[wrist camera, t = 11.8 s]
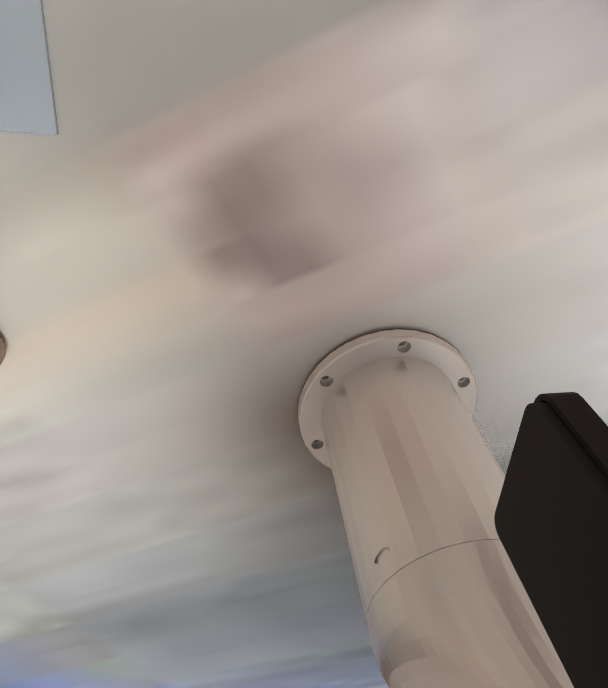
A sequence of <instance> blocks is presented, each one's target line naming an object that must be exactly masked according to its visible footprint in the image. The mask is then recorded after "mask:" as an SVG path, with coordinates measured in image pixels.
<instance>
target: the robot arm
mask: <svg viewBox="0 0 608 688" xmlns="http://www.w3.org/2000/svg"><path fill="white" fill-rule="evenodd" d="M476 402H477V386H476V383H475V379H474V376H473V373H472V371H471V369H470V368H469V366H468V364H467V363H466V361H465V360H464V358H463V357H462V356H461V354H460V353H459V352H458V351H457V350H456V349H455V348H454V347H452V346H451V345H450V344H449V343H447V342H446V341H444V340H442V339H440V338H438V337H436V336H434V335H432V334H428V333H424V332H420V331H416V330H401V329H396V330H387V331H379V332H375V333H372V334H368V335H364V336H361V337H359V338H357V339H354V340H352V341H350V342H348V343H345V344H344V345H342V346H341V347H339V348H338V349H336V350H335V351H333V352H332V353H330V354H329V355H328V356H327V357H326V358H325V359H324V360H323V361H322V362H321V363H319V364H318V365H317V367H316V368H315V369H314V371H313V372H312V373H311V375H310V376H309V377H308V379H307V381H306V383H305V385H304V387H303V389H302V392H301V395H300V400H299V404H298V421H299V426H300V432H301V435H302V438H303V440H304V443H305V445H306V447H307V448H308V450H309V451H310V452H311V454H312V455H313V456H314V457H315V458H316V459H317V460H318V461H320V462H321V463H322V464H323V465H325V466H327V467H328V468H330V469H332V473H333V477H334V482H335V486H336V491H337V495H338V500H339V504H340V509H341V513H342V517H343V522H344V526H345V531H346V535H347V540H348V544H349V549H350V553H351V557H352V562H353V566H354V571H355V575H356V580H357V584H358V589H359V593H360V597H361V602H362V606H363V611H364V615H365V620H366V624H367V628H368V633H369V637H370V641H371V646H372V650H373V653H374V656H375V659H376V662H377V665H378V668H379V670H380V672H381V674H382V676H383V678H384V680H385V682H386V683H387V685H388V686H389V688H608V426H607V425H606V424H605V423H604V422H603V420H602V419H601V418H600V417H599V416H598V415H597V414H596V412H595V411H594V410H593V409H592V408H591V407H590V406H589V404H588V403H587V402H586V401H585V400H584V399H583V398H582V397H581V396H580V395H579V394H578V393H574V392H566V393H548V394H540V395H538V396H537V398H536V399H535V401H534V403H530V404H528V405H527V406H526V409H525V411H524V415H523V418H522V421H521V425H520V428H519V432H518V435H517V439H516V442H515V445H514V449H513V452H512V456H511V459H510V463H509V466H508V469H507V473H506V476H505V475H504V473H503V471H502V470H501V468H500V466H499V464H498V463H497V461H496V459H495V457H494V456H493V454H492V452H491V450H490V449H489V447H488V445H487V443H486V442H485V440H484V438H483V437H482V435H481V433H480V431H479V430H478V428H477V426H476V424H475V423H474V421H473V419H472V417H473V415H474V412H475V407H476Z"/></svg>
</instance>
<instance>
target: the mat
mask: <svg viewBox="0 0 608 688" xmlns="http://www.w3.org/2000/svg"><path fill="white" fill-rule="evenodd" d="M0 131H5V132H19V133H33V134H47V135H58V128H57V120H56V112H55V104H54V96H53V88H52V80H51V72H50V63H49V55H48V47H47V39H46V31H45V23H44V15H43V7H42V0H0Z"/></svg>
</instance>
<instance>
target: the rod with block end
mask: <svg viewBox="0 0 608 688" xmlns="http://www.w3.org/2000/svg"><path fill="white" fill-rule="evenodd" d="M5 355H6V347H5V344H4V342H3V340H2V339H1V338H0V365H1V363H2V362H3V360H4V358H5Z"/></svg>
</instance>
